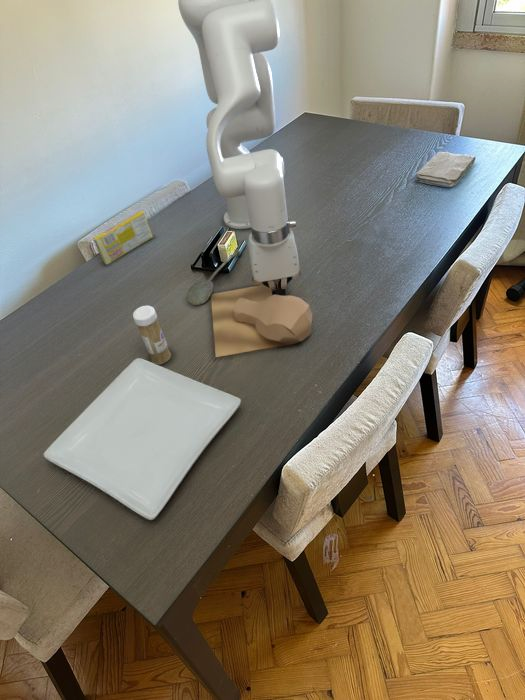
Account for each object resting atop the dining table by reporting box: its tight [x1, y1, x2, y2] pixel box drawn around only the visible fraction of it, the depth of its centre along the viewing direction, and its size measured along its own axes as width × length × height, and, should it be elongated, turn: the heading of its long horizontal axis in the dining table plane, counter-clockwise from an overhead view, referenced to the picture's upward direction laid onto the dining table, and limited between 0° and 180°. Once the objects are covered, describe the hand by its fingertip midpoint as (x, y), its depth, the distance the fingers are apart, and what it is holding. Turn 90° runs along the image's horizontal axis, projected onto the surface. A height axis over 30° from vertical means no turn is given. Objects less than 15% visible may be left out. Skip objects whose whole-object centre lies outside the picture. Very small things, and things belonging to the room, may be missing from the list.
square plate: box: [43, 357, 242, 521], centre depth 95 cm, size 27×27×4 cm
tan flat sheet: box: [210, 281, 299, 359], centre depth 117 cm, size 22×18×1 cm
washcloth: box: [414, 150, 476, 188], centre depth 150 cm, size 12×18×3 cm, turn 144°
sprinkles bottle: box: [132, 305, 172, 366], centre depth 107 cm, size 5×5×13 cm
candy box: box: [92, 210, 154, 265], centre depth 141 cm, size 16×2×8 cm, turn 134°
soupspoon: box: [186, 249, 242, 306], centre depth 128 cm, size 22×3×7 cm
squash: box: [232, 295, 314, 345], centre depth 110 cm, size 11×20×9 cm, turn 57°
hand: (279, 299), depth 115 cm, fingers closed
